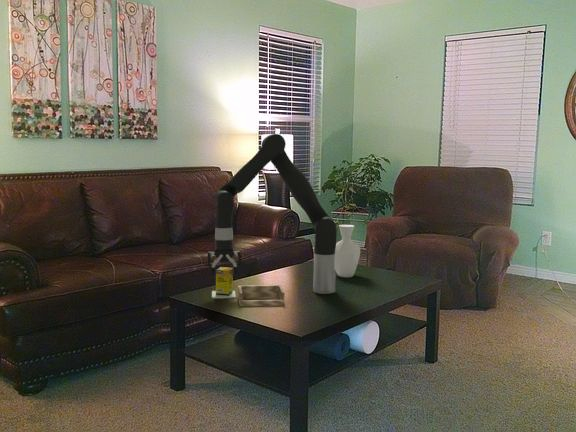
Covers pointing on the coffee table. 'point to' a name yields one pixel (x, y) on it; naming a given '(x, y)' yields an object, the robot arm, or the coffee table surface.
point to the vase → (346, 253)
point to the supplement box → (224, 281)
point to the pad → (223, 295)
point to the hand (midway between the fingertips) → (224, 275)
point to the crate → (261, 295)
